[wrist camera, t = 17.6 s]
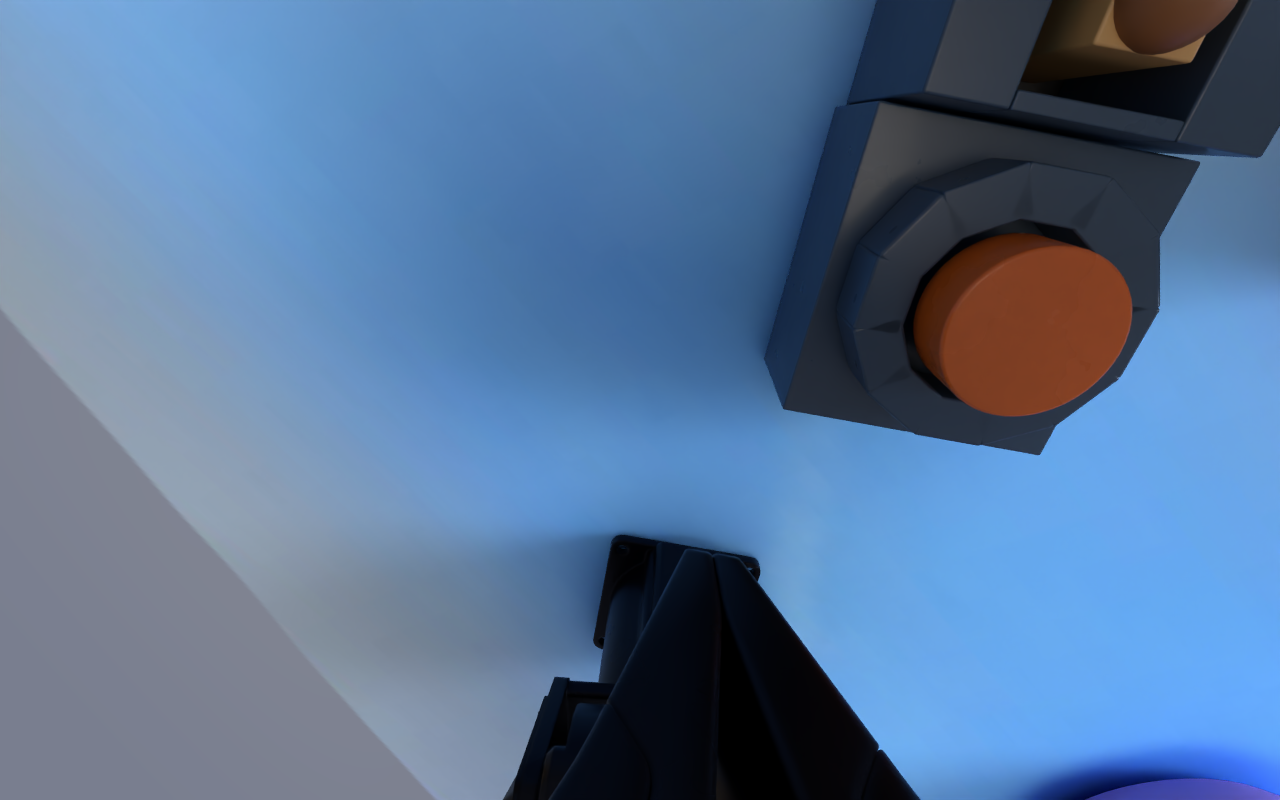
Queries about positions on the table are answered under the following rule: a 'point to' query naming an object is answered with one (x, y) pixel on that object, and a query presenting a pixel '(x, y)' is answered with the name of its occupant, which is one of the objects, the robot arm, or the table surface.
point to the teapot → (1187, 791)
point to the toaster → (1078, 107)
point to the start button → (1022, 323)
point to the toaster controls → (948, 256)
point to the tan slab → (1120, 36)
